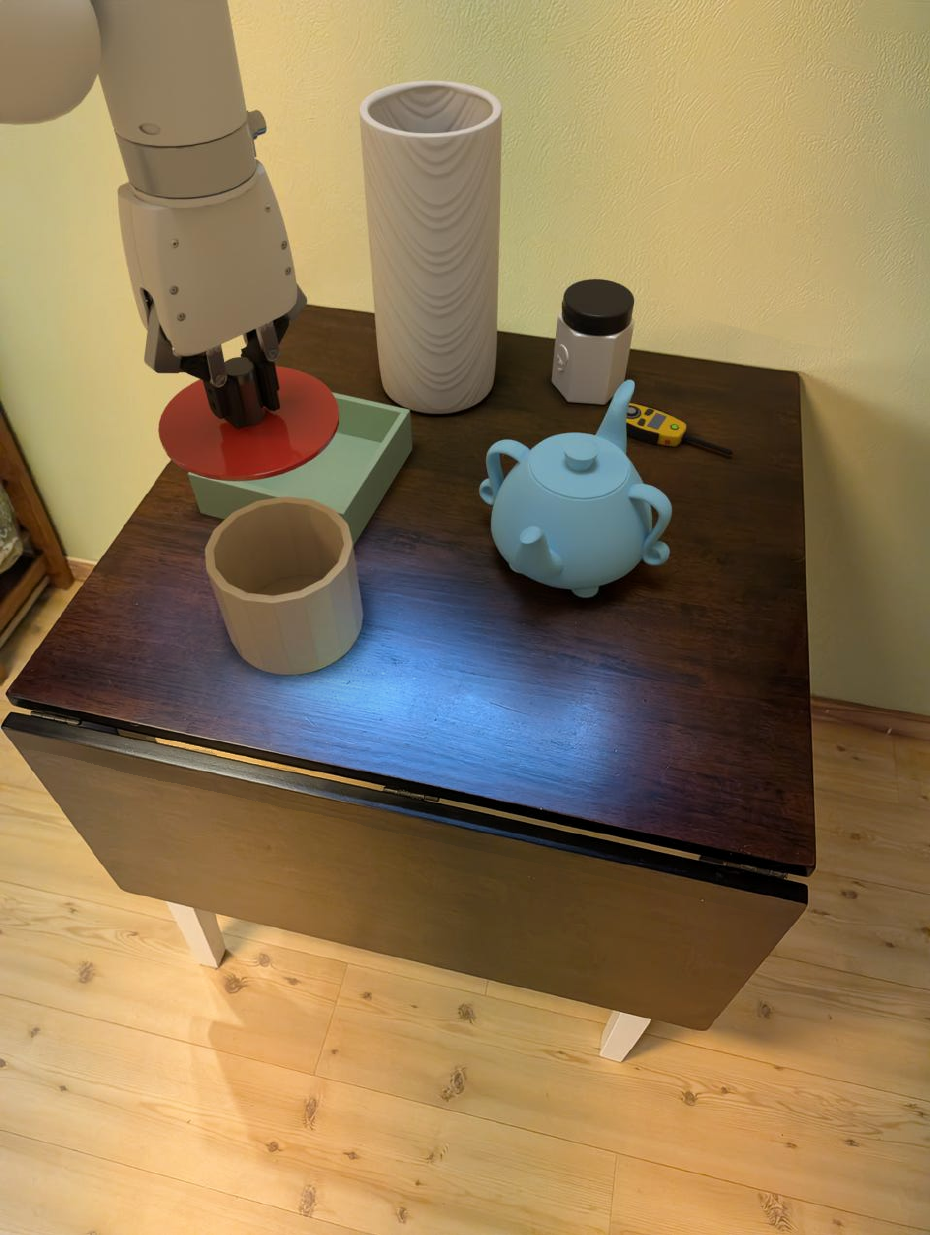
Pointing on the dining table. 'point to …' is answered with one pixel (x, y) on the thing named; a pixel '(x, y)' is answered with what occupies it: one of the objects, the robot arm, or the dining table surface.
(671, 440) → the remote control
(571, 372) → the jar
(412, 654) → the dining table surface
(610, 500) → the teapot
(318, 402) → the lid
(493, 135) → the vase
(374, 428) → the green square tray
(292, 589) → the pot
